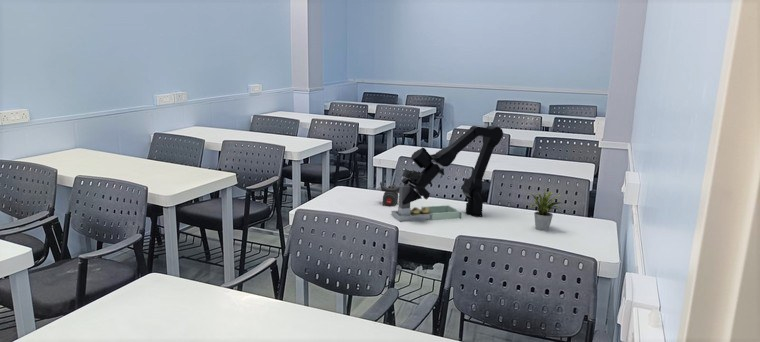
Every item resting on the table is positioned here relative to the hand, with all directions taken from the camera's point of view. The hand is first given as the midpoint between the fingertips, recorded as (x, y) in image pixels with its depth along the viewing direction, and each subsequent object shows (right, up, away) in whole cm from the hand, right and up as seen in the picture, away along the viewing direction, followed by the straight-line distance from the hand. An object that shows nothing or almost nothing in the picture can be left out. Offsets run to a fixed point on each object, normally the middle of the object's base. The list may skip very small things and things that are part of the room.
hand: (401, 202), depth 222 cm
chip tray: (+17, -6, +7) cm, 19 cm away
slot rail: (+10, -6, +5) cm, 13 cm away
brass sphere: (+6, -6, +3) cm, 9 cm away
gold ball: (+10, -6, +5) cm, 13 cm away
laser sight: (-4, -2, +30) cm, 30 cm away
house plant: (+55, -10, -8) cm, 56 cm away
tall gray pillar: (+1, -6, +1) cm, 6 cm away
